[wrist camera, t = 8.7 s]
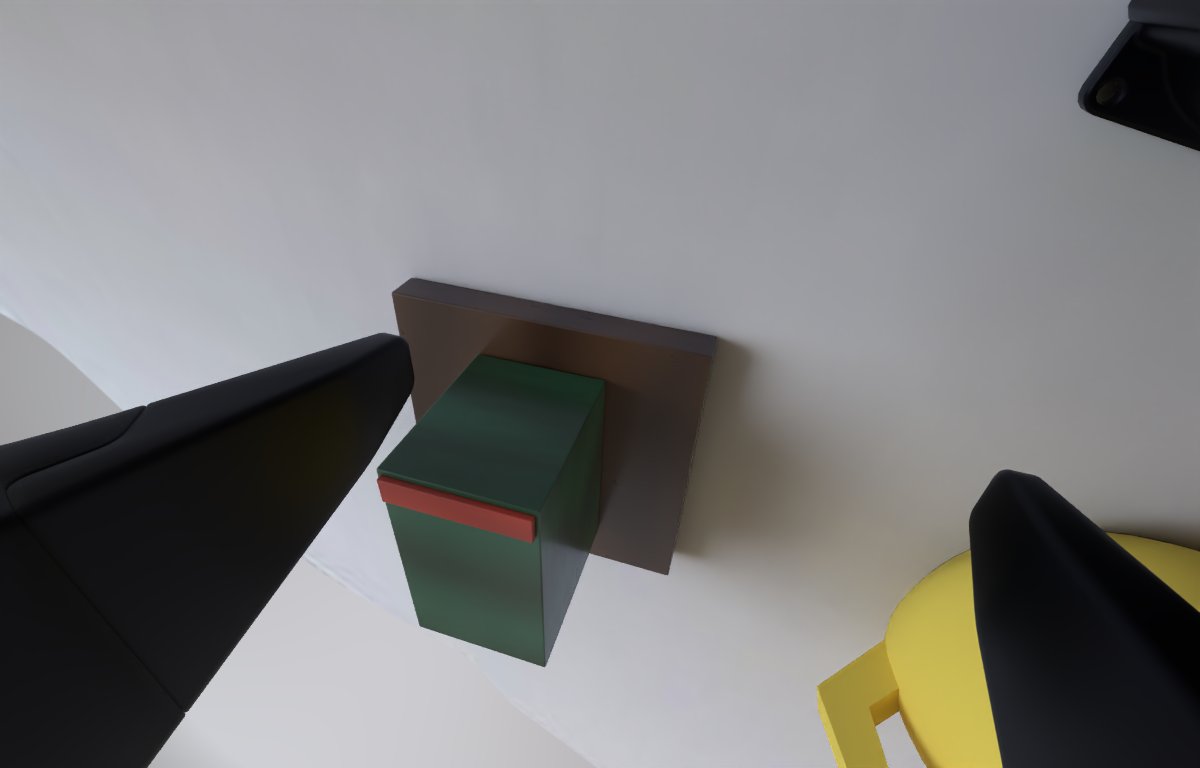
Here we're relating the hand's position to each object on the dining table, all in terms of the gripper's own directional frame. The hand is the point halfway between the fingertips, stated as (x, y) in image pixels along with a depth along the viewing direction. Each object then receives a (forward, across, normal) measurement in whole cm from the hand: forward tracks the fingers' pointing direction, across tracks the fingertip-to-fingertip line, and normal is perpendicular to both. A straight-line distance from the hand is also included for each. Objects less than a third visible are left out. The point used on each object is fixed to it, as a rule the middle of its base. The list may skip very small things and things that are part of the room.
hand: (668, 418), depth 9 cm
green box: (+10, +6, +12) cm, 17 cm away
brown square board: (+12, +6, +12) cm, 18 cm away
